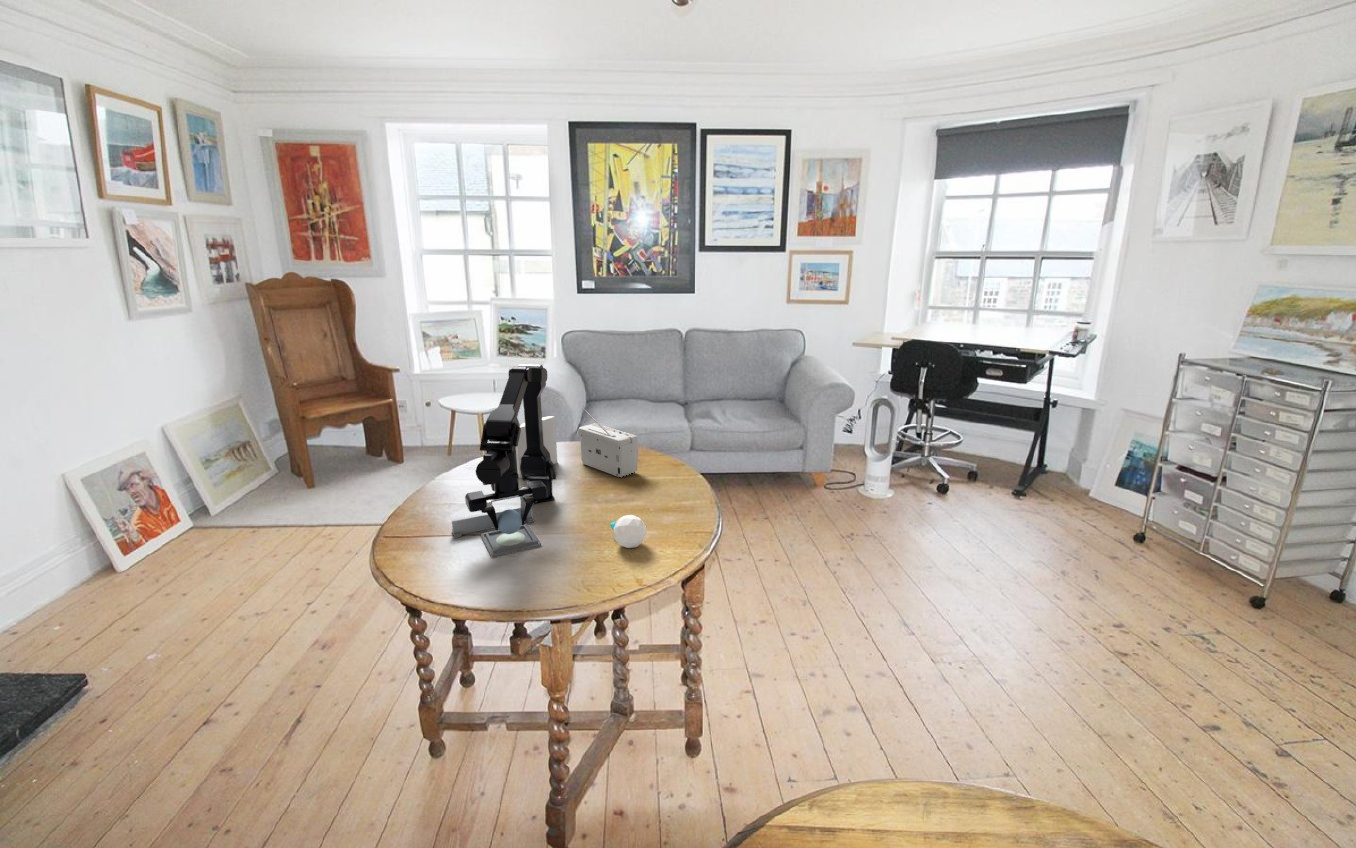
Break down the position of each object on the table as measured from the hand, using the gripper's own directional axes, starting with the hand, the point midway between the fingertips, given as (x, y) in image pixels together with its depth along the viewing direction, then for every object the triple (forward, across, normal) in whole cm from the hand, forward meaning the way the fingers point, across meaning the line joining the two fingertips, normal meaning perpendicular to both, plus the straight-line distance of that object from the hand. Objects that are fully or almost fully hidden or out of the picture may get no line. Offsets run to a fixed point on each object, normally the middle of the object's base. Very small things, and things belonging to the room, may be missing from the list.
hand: (509, 527), depth 146 cm
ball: (+2, 0, 0) cm, 2 cm away
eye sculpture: (+4, -19, -48) cm, 52 cm away
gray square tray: (+4, 0, 0) cm, 4 cm away
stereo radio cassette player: (+4, -40, -35) cm, 53 cm away
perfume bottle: (+4, -25, +14) cm, 29 cm away
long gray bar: (+4, +2, -10) cm, 11 cm away
